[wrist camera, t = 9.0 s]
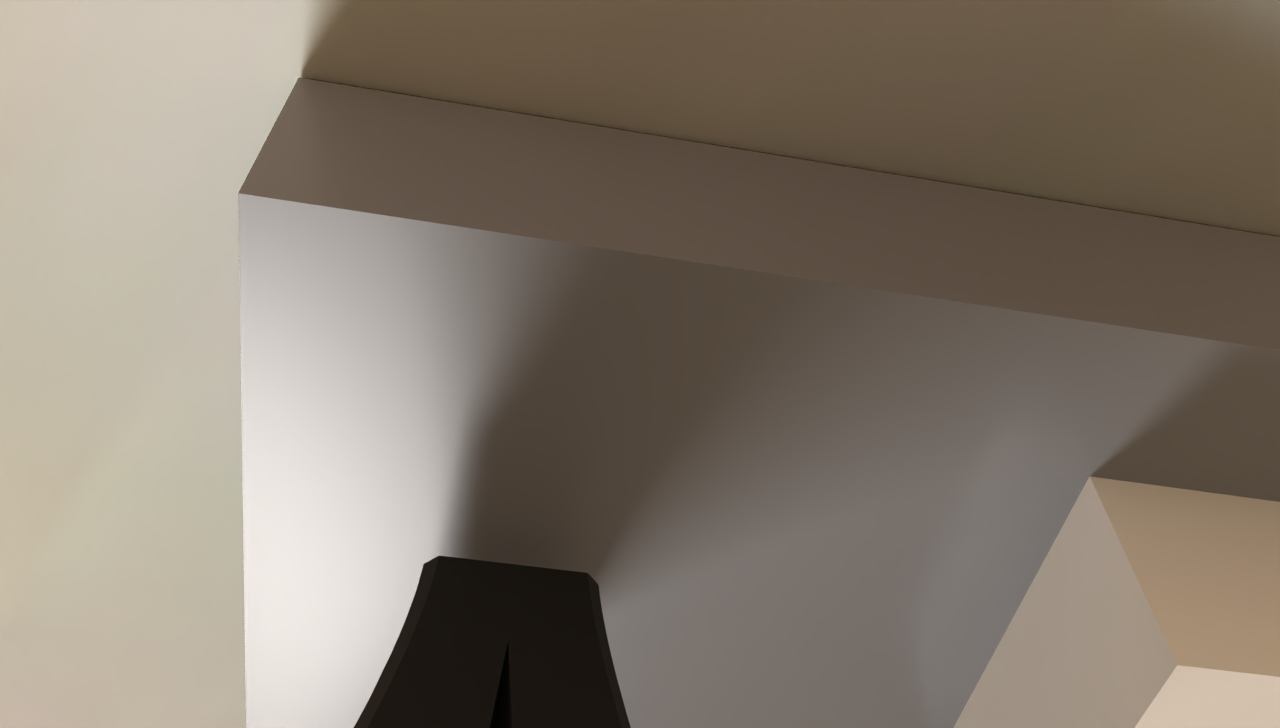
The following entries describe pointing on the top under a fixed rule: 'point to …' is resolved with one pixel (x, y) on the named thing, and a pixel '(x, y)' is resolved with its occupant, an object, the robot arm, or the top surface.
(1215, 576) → the tile
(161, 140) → the top surface
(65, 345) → the top surface
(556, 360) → the board
